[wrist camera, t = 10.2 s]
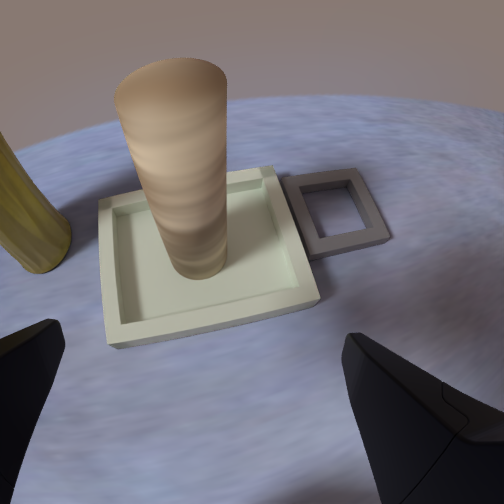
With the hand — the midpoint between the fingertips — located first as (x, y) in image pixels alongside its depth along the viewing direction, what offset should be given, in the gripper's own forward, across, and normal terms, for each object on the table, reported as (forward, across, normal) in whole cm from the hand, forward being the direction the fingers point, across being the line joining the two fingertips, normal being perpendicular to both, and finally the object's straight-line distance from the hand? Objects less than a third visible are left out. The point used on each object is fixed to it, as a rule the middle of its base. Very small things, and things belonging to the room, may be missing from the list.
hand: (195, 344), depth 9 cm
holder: (+19, -10, 0) cm, 21 cm away
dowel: (+15, +2, +3) cm, 16 cm away
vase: (+17, +16, +3) cm, 24 cm away
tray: (+16, +2, +3) cm, 16 cm away
